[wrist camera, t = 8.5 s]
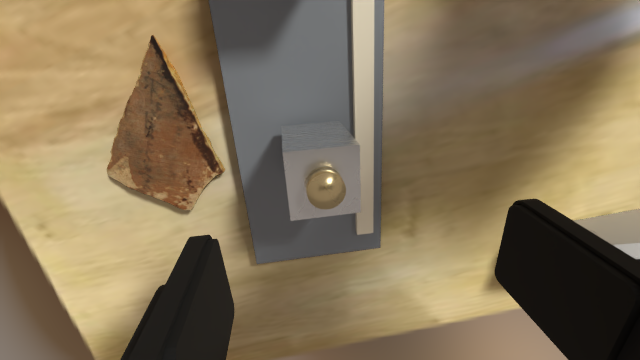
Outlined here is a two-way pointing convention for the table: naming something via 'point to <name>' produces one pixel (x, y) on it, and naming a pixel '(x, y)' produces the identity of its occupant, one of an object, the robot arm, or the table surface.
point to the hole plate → (302, 110)
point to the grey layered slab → (617, 230)
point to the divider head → (321, 170)
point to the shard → (162, 138)
